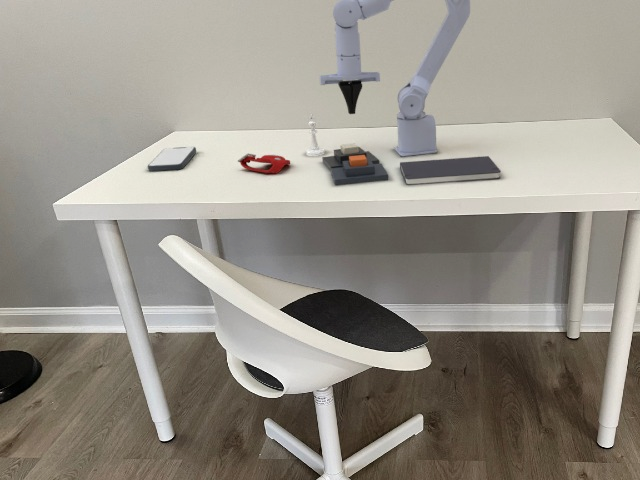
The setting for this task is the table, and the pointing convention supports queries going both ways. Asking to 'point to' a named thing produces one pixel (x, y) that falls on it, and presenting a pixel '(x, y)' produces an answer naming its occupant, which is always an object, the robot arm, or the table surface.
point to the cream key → (349, 148)
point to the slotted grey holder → (358, 173)
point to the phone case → (172, 159)
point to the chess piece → (314, 140)
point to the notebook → (449, 170)
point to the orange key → (357, 160)
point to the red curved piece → (273, 159)
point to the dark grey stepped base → (345, 158)
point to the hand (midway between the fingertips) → (351, 113)
